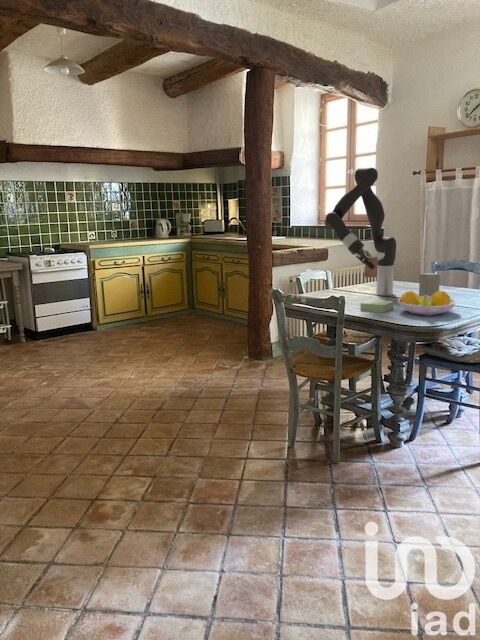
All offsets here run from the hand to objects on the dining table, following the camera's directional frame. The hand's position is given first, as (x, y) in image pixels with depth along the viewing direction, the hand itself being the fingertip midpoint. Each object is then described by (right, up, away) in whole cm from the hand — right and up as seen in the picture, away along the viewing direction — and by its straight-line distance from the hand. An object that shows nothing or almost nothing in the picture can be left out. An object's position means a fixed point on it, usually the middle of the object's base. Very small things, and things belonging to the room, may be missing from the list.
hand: (374, 267), depth 262 cm
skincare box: (+31, -18, +9) cm, 37 cm away
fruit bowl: (+21, -24, -14) cm, 34 cm away
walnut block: (-2, -4, +2) cm, 5 cm away
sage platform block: (0, -22, -2) cm, 22 cm away
